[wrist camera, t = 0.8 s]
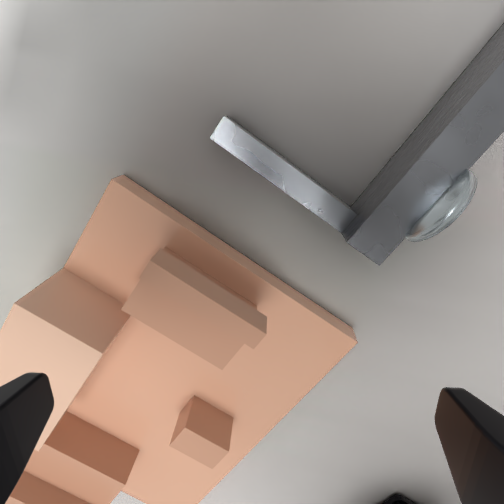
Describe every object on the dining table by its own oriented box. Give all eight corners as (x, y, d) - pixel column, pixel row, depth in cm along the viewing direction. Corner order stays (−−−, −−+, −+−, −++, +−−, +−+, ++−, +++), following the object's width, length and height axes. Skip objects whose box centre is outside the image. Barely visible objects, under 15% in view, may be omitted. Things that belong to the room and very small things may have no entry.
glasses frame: (611, -18, 15) (730, -66, 11) (371, 249, 20) (395, 282, 16) (428, -206, 13) (493, -341, 9) (214, 136, 18) (198, 141, 14)
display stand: (352, 327, 22) (376, 393, 16) (185, 500, 28) (165, 586, 23) (123, 174, 19) (68, 195, 14) (-3, 403, 25) (-73, 475, 20)
